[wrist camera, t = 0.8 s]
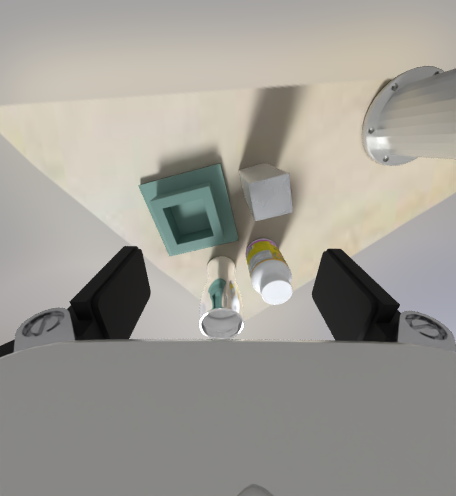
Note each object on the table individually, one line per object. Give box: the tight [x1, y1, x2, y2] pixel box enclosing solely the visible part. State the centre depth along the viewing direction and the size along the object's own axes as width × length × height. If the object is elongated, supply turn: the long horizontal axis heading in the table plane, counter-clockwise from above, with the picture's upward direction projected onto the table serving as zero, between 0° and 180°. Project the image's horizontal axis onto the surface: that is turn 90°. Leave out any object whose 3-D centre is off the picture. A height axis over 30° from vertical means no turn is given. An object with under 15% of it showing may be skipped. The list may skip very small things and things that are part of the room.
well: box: [139, 163, 238, 256], centre depth 34 cm, size 14×14×5 cm
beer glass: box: [199, 256, 244, 339], centre depth 36 cm, size 7×7×15 cm
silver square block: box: [239, 163, 293, 221], centre depth 28 cm, size 4×4×13 cm
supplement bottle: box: [246, 239, 293, 305], centre depth 35 cm, size 7×7×13 cm
